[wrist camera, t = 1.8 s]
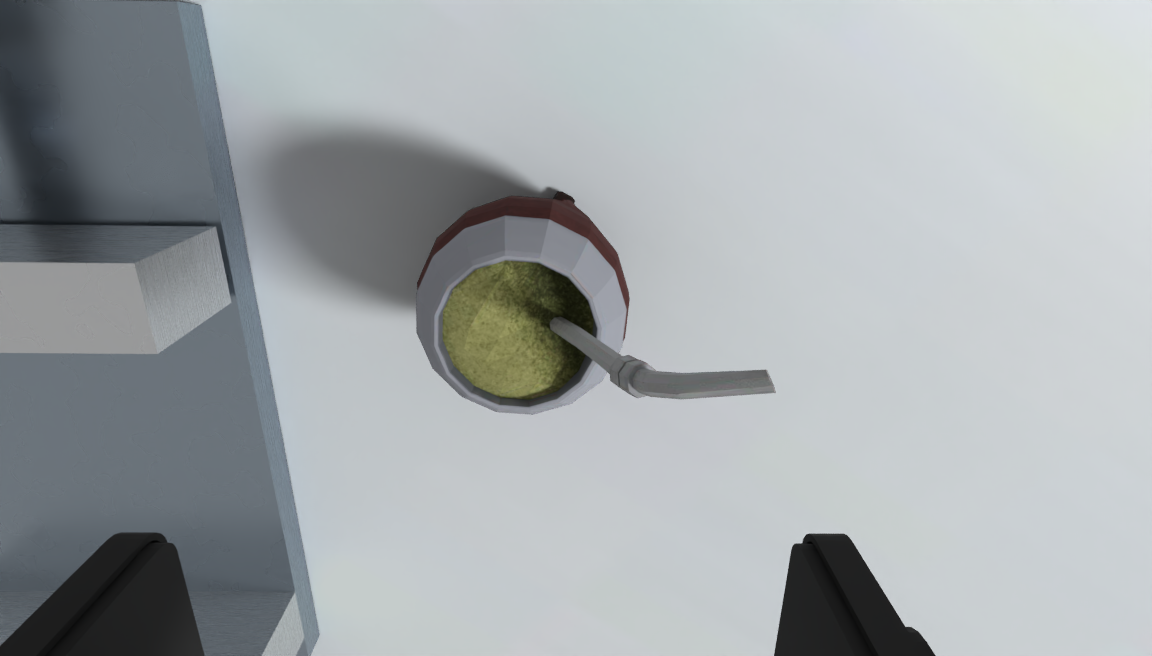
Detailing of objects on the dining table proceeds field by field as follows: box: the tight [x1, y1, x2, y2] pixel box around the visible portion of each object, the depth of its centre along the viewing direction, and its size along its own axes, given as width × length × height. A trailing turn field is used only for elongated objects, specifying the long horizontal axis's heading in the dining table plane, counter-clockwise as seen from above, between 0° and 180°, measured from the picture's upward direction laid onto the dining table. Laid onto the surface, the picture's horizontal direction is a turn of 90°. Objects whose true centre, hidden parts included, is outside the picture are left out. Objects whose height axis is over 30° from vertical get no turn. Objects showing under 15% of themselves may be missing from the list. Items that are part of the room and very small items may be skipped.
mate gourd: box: [416, 192, 776, 415], centre depth 19 cm, size 8×8×15 cm
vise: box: [0, 0, 319, 656], centre depth 25 cm, size 30×16×6 cm, turn 179°
